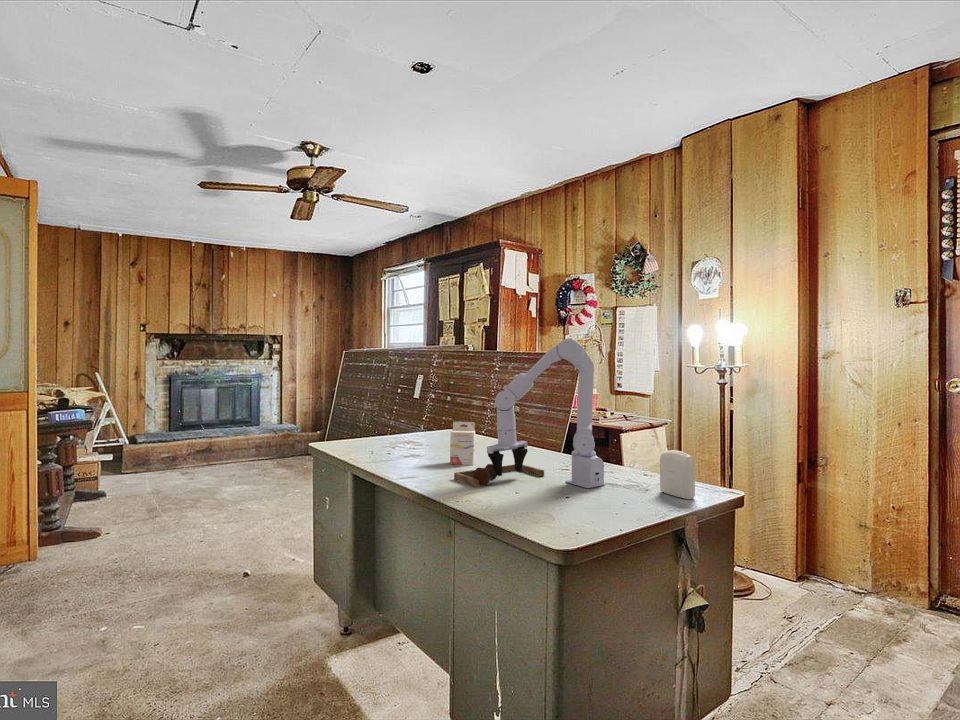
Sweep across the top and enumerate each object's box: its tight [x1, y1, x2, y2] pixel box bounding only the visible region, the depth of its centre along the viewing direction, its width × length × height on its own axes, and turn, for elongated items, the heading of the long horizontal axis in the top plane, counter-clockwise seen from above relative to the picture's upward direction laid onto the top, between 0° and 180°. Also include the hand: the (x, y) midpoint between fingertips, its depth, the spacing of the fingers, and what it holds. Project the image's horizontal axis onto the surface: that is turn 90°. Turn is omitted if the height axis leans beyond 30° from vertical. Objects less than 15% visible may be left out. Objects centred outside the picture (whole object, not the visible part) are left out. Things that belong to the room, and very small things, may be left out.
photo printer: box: [659, 449, 696, 500], centre depth 148 cm, size 10×4×12 cm, turn 26°
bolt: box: [472, 463, 498, 487], centre depth 165 cm, size 6×5×15 cm
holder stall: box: [453, 463, 545, 488], centre depth 168 cm, size 12×26×2 cm, turn 124°
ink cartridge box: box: [449, 421, 476, 466], centre depth 190 cm, size 9×5×15 cm, turn 84°
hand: (508, 473), depth 165 cm, fingers open, 7 cm apart
